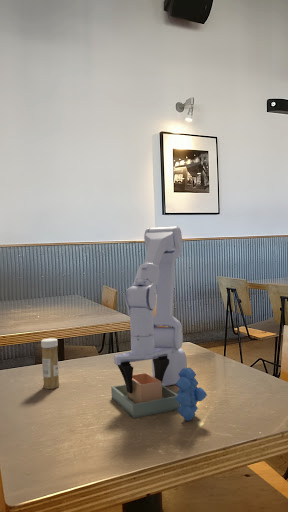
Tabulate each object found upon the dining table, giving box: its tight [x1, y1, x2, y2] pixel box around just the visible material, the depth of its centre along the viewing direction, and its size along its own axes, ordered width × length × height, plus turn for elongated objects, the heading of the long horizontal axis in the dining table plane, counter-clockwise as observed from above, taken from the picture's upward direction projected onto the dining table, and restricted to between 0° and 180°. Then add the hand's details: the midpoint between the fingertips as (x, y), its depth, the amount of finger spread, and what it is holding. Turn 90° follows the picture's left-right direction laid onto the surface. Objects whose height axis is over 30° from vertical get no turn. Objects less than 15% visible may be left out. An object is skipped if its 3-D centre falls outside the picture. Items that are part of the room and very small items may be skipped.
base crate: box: [111, 384, 180, 419], centre depth 109 cm, size 12×15×3 cm
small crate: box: [127, 371, 162, 404], centre depth 109 cm, size 6×9×6 cm, turn 23°
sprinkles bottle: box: [40, 337, 60, 390], centre depth 125 cm, size 5×5×14 cm
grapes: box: [175, 367, 208, 422], centre depth 97 cm, size 12×7×12 cm, turn 162°
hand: (144, 389), depth 109 cm, fingers open, 7 cm apart
